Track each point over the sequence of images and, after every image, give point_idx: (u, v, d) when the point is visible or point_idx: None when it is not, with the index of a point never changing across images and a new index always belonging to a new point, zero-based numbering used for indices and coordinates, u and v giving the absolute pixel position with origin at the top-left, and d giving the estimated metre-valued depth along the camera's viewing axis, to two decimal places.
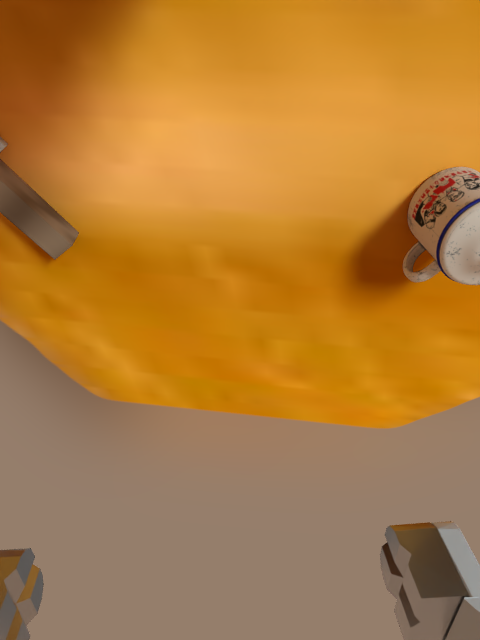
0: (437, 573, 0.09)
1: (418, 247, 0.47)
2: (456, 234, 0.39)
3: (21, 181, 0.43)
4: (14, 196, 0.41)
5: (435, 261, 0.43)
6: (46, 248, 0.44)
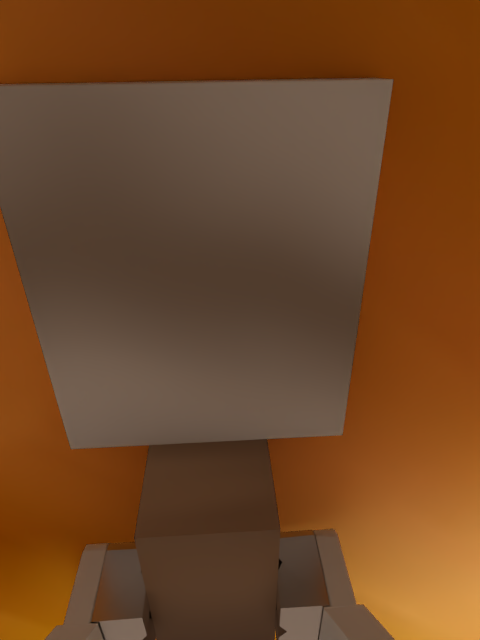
0: (304, 581, 0.09)
1: None
2: None
3: None
4: (259, 626, 0.10)
5: None
6: None
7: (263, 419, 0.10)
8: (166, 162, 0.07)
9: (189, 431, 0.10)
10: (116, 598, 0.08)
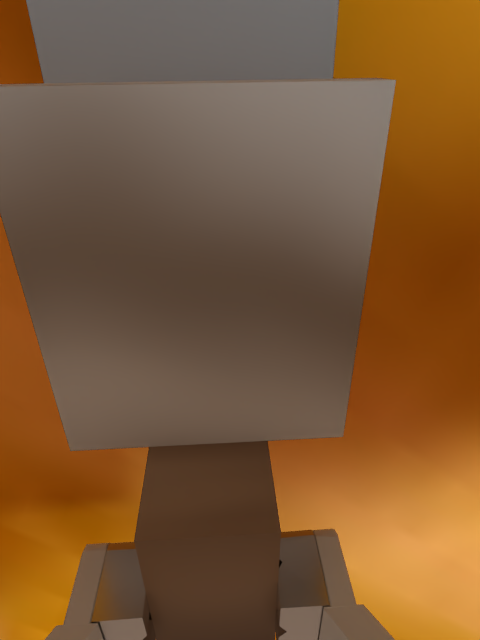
0: (303, 582, 0.09)
1: None
2: None
3: None
4: (260, 628, 0.10)
5: None
6: None
7: (263, 421, 0.09)
8: (167, 163, 0.07)
9: (189, 433, 0.09)
10: (116, 598, 0.08)
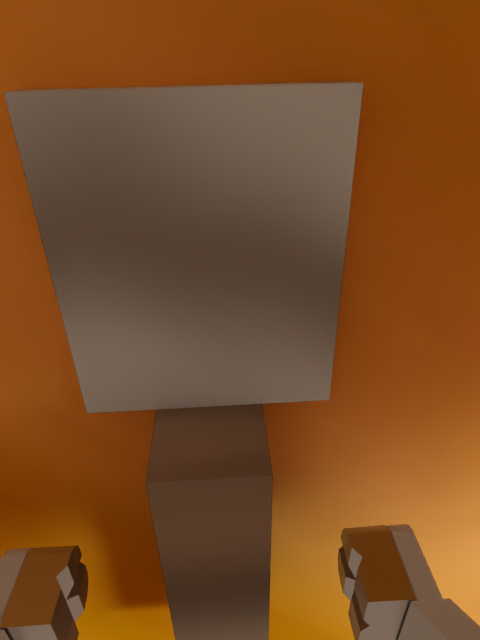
0: (386, 577, 0.09)
1: None
2: None
3: None
4: (256, 570, 0.11)
5: None
6: None
7: (258, 385, 0.11)
8: (172, 154, 0.08)
9: (192, 396, 0.11)
10: (27, 604, 0.08)
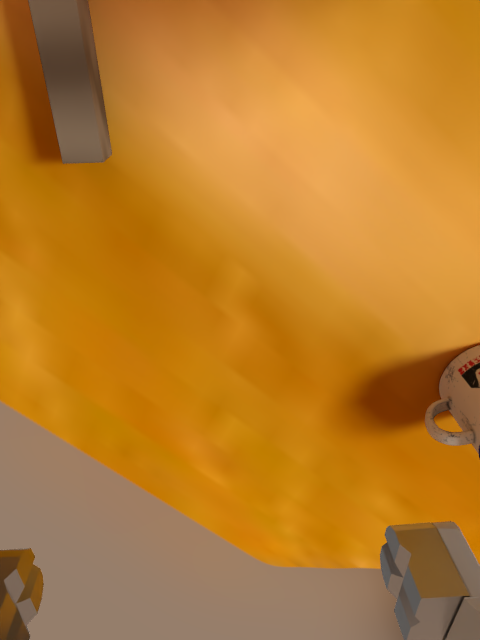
0: (438, 573, 0.09)
1: (443, 403, 0.42)
2: None
3: (91, 34, 0.27)
4: (77, 42, 0.25)
5: (472, 431, 0.37)
6: (64, 141, 0.28)
7: None
8: None
9: None
10: None
